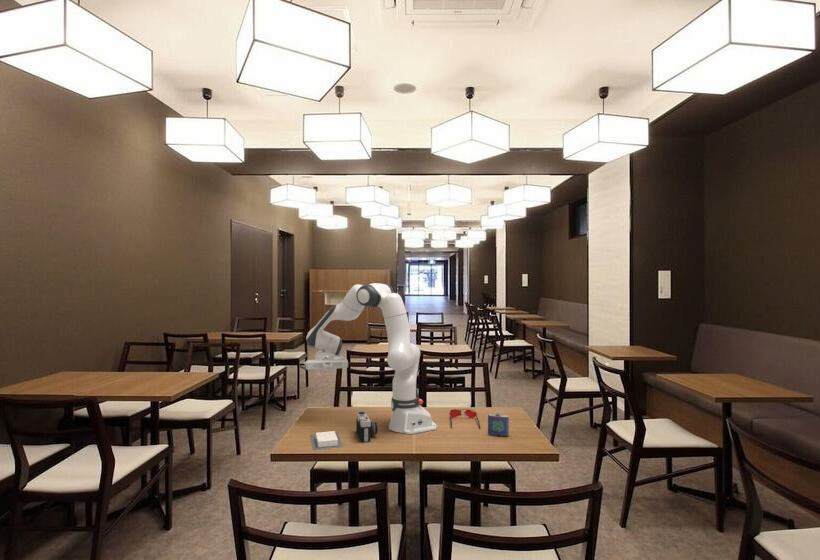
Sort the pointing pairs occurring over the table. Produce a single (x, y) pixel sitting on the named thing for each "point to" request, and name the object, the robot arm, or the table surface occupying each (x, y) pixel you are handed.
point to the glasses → (458, 412)
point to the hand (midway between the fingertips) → (328, 367)
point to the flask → (498, 425)
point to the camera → (365, 427)
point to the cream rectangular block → (326, 439)
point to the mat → (315, 447)
